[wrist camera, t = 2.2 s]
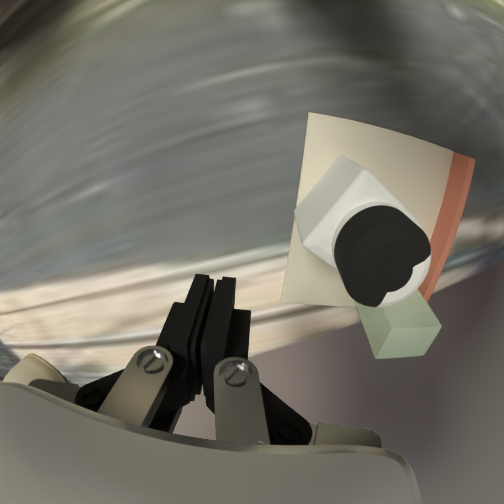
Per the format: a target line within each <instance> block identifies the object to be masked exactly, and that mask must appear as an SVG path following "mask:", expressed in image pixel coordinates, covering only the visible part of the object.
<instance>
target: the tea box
mask: <svg viewBox="0 0 504 504" xmlns="http://www.w3.org/2000/svg"><path fill="white" fill-rule="evenodd" d="M354 303H355V305H356V308H357V311H358V313H359V316H360V318H361V321H362V324H363V326H364V329H365V332H366V335H367V337H368V340H369V343H370V346H371V349H372V351H373V354H374V357H375V359H384V358H385V359H386V358H401V357H413V356H423V355H424V354H425V353H426V351H427V350H428V348H429V346H430V345H431V343H432V342H433V340H434V339H435V337H436V335H437V334H438V332H439V331H440V329H441V327H442V326H441V324H440V323H439V321H438V319H437V318H436V316H435V315H434V313H433V312H432V310H431V308H430V307H429V305H428V304H427V302H426V301H425V299H424V298H423V296H422V295H421V293H420V292H419V290H418V289H417V290H416V291H415V292H414V293H413V294H412V295H410V296H409V297H408V298H406V299H405V300H403V301H401V302H399V303H397V304H394V305H392V306H388V307H368V306H364V305H362V304H359V303H358V302H356V301H355V300H354Z"/></svg>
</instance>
